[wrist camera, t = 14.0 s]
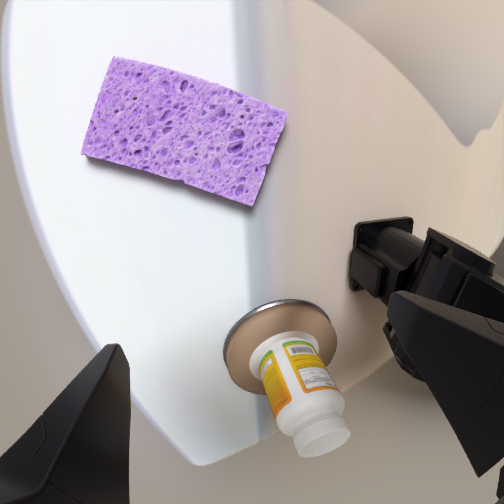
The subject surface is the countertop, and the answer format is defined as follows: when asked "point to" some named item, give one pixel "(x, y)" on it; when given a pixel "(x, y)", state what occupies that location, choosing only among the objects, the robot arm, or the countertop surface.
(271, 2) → the countertop surface
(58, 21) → the countertop surface
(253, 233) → the countertop surface
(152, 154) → the purple sponge
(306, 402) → the supplement bottle
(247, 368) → the turntable platter
